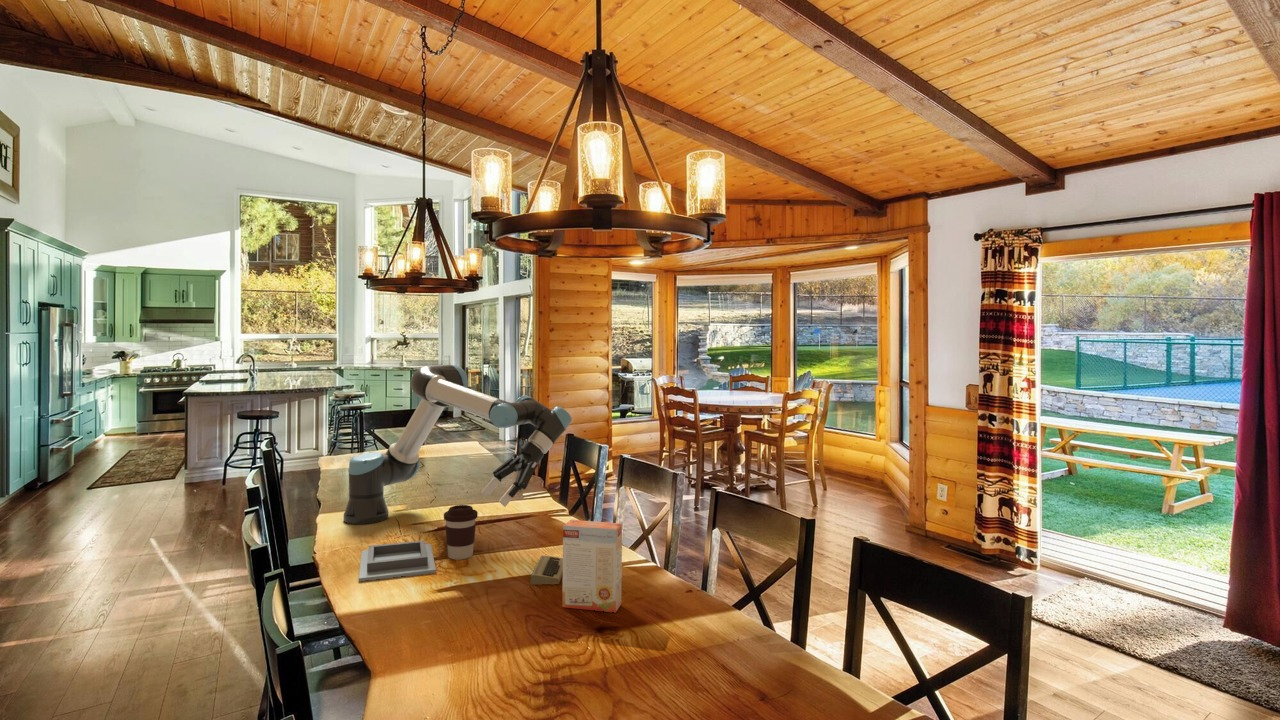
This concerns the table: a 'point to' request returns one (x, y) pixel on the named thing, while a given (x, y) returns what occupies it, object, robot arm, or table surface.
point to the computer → (547, 570)
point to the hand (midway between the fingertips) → (492, 499)
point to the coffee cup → (460, 531)
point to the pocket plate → (396, 560)
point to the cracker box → (592, 565)
